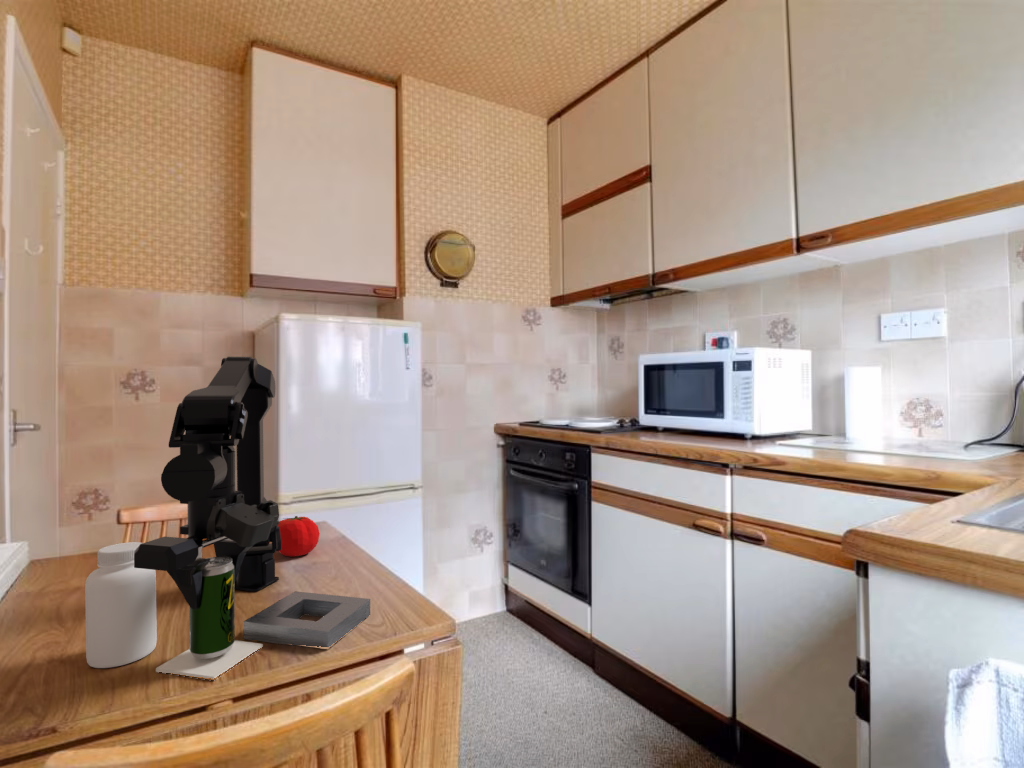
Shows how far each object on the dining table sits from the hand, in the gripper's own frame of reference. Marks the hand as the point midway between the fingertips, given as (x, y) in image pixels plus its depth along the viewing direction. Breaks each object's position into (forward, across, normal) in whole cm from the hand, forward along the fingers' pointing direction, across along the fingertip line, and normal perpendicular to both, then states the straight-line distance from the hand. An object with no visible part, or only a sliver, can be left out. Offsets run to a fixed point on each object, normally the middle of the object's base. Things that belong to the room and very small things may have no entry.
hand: (212, 600), depth 74 cm
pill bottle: (+8, -2, +13) cm, 15 cm away
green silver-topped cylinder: (+7, 0, 0) cm, 7 cm away
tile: (+8, 0, 0) cm, 8 cm away
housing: (+8, +12, -7) cm, 16 cm away
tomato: (+8, +43, +18) cm, 47 cm away
